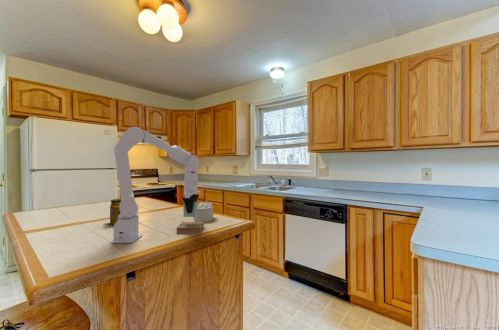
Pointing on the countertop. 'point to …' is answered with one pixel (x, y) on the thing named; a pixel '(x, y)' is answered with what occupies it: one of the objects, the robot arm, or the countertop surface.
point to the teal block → (192, 211)
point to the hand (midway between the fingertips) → (190, 211)
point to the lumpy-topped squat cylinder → (204, 212)
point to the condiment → (114, 212)
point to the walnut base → (190, 228)
